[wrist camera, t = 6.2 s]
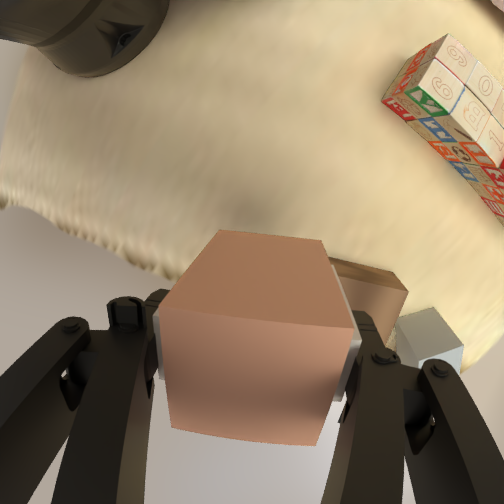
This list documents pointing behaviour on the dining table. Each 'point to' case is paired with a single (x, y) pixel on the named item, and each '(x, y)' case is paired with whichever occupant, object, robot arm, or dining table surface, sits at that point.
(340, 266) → the walnut base
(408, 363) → the greyblue block
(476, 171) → the stack of blocks
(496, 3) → the fruit bowl
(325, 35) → the dining table surface
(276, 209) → the dining table surface
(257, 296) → the terracotta block
